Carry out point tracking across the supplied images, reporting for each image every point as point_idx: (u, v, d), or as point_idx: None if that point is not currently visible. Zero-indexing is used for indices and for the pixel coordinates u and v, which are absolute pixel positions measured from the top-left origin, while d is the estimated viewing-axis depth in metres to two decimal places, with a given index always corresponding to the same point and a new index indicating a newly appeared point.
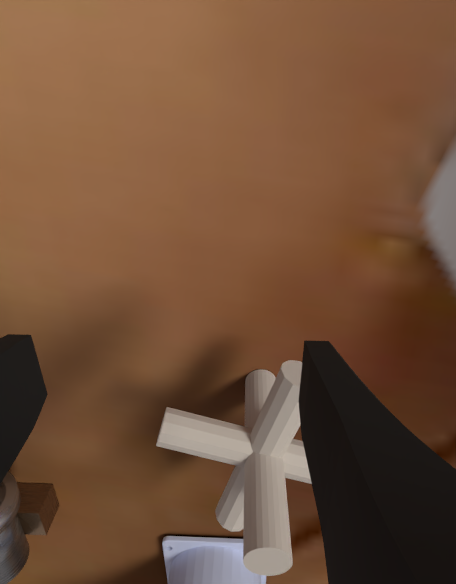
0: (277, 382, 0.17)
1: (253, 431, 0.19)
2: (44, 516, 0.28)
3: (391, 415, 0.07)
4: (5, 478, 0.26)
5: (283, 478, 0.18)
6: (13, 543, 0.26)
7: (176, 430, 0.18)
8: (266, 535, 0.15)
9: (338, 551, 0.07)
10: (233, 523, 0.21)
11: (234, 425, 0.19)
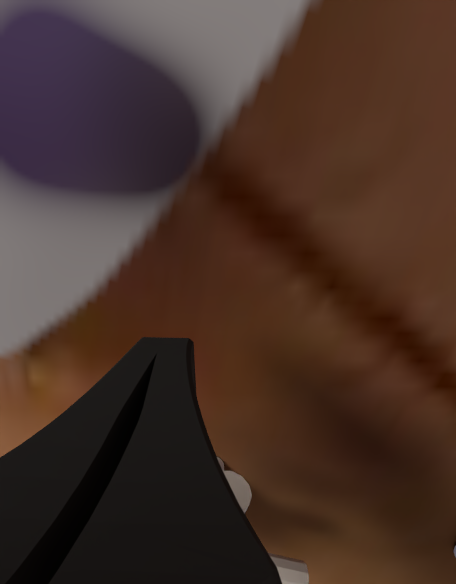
0: None
1: None
2: None
3: (193, 409, 0.07)
4: None
5: None
6: None
7: None
8: None
9: None
10: None
11: None
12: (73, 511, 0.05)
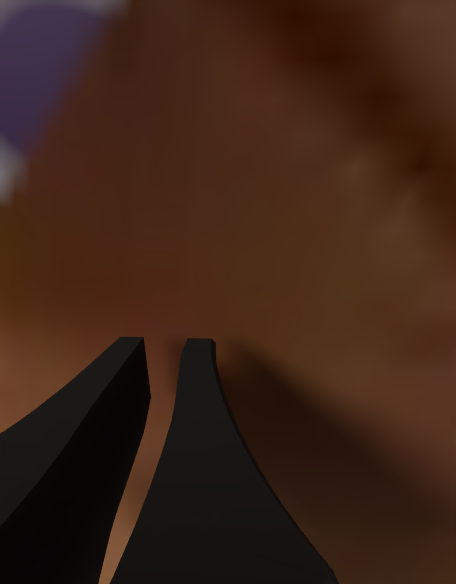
0: None
1: None
2: None
3: (225, 410, 0.07)
4: None
5: None
6: None
7: None
8: None
9: None
10: None
11: None
12: (30, 509, 0.05)
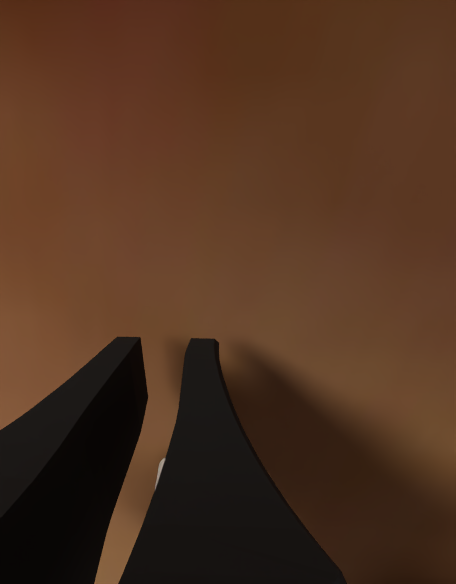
0: None
1: None
2: None
3: (229, 411, 0.07)
4: None
5: None
6: None
7: None
8: None
9: None
10: None
11: None
12: (24, 509, 0.05)
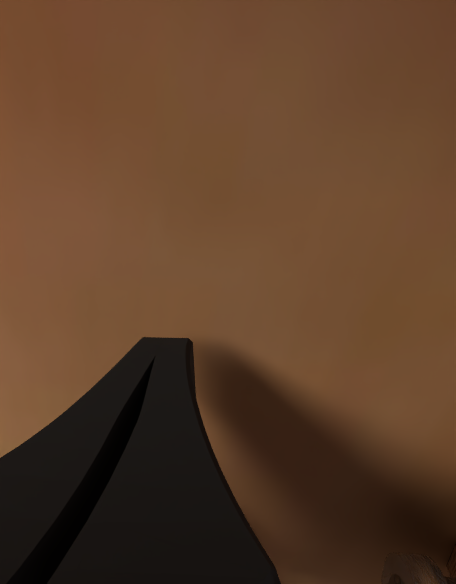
0: None
1: None
2: None
3: (192, 409, 0.07)
4: (395, 566, 0.14)
5: None
6: None
7: None
8: None
9: None
10: None
11: None
12: (74, 511, 0.05)
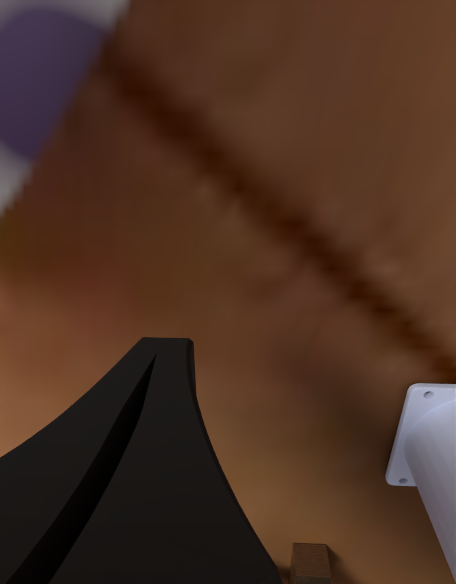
0: None
1: None
2: (309, 569, 0.28)
3: (193, 410, 0.07)
4: None
5: None
6: None
7: None
8: None
9: None
10: None
11: None
12: (73, 511, 0.05)
